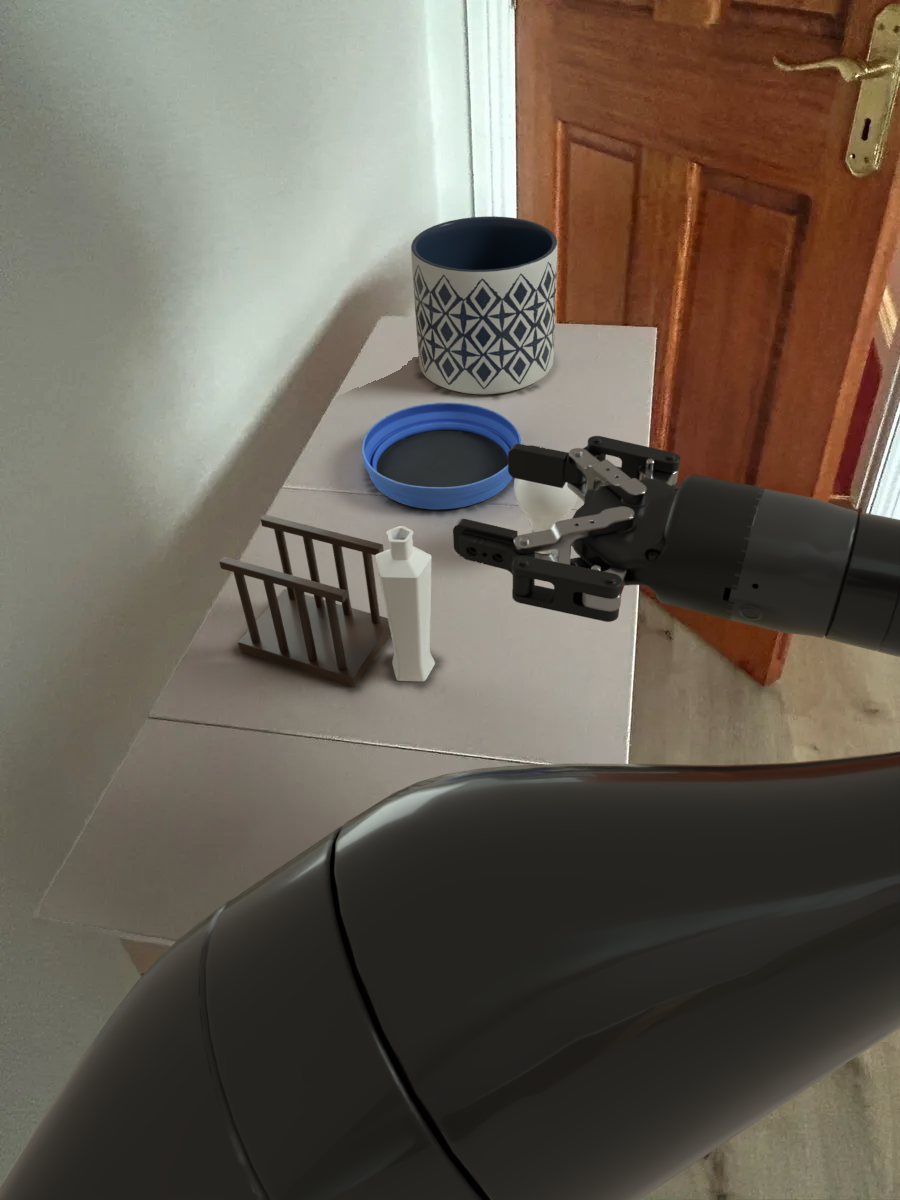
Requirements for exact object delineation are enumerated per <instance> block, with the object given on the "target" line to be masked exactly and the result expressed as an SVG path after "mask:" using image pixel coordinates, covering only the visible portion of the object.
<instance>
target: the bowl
mask: <svg viewBox="0 0 900 1200" xmlns="http://www.w3.org/2000/svg"><path fill="white" fill-rule="evenodd" d="M515 444H522V436H521V433H520V432H519V430H518V429H517V427H516V426H515V424H513V423H512V421H510V419H508V418H507V417H506V416H503V415H502V414H500V413H499V412H497V411H494V410H491V409H490V408H486V407H483V406H479V405H476V404H469V403H462V402H432V403H431V402H430V403H424V404H418V405H413V406H409V407H406V408H402V409H399V410H396V411H394V412H392V413H390V414H388V415H386V416H384V417H383V418H381V419H379V420H378V421H377V422H375V423H374V424H373V425H372V426H371V427H370V428H369V430H368V431H367V432H366V434H365V435H364V438H363V441H362V445H361V456H362V461H363V464H364V467H365V470H366V471H367V473H368V476H369V478H370V480H371V482H372V484H373V485H374V487H375V488H376V489H377V490H378V491H379V492H380V493H381V494H382V495H384V496H386V497H387V498H388V499H391V500H392V501H395V502H397V503H399V504H401V505H405V506H408V507H412V508H417V509H424V510H453V509H459V508H465V507H469V506H473V505H476V504H479V503H482V502H485V501H487V500H489V499H491V498H493V497H494V496H496V495H497V494H499V493H500V492H502V491H503V490H504V489H505V488H507V486H508V485H509V484H510V482H511V481H512V480H513V479H514V478H513V477H512V476H510V474H509V472H508V453H509V451H510V450H511V448H512V447H513V445H515Z"/></svg>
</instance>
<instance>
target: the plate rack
mask: <svg viewBox="0 0 900 1200" xmlns="http://www.w3.org/2000/svg"><path fill="white" fill-rule="evenodd" d="M260 524H261V526H262V527H264V528H267V529H272V530H273V531H274V535H275V540H276V545H277V549H278V553H279V560H280V563H281V569H282V571H278V570H274V569H270V568H267V567H263V566H260V565H256V564H254V563H253V564H252V563H250V562H249V563H248V562H245V561H241V560H239V559H235V558H230V557H227V556H223V557H222V558H221V559H220V560H219V566H220V569H221V570H225V571H228V572H232V573H233V575H234V579H235V583H236V588H237V591H238V595H239V599H240V603H241V606H242V611H243V614H244V617H245V622H246V626H247V631H246V632H245V634H244V635H243V636H242V637H241V638H240V639H239V640H238V642H237V644H238V649H239V651H240V652H241V653H245V654H248V655H251V656H254V657H257V658H260V659H262V660H263V659H264V660H266V661H269V662H273V663H275V664H280V665H282V666H286V667H289V668H291V669H292V668H293V669H295V670H298V671H301V672H305V673H307V674H311V675H314V676H318V677H321V678H323V679H327V680H330V681H333V682H336V683H338V684H343V685H346V686H349V687H353V688H355V687H356V685H357V684H358V683H359V681H360V680H361V678H362V677H363V676H364V674H365V673H366V671H367V670H368V668H369V667H370V666H371V664H372V662H373V661H374V659H375V658H376V657H377V656H378V654H379V653H380V651H381V650H382V648H383V647H384V645H385V644H386V643H387V641H388V639H389V638H390V637H391V632H390V627H389V622H388V617H385V616H382V615H380V614H381V613H380V608H379V607H380V606H379V600H378V599H379V598H378V592H377V591H378V590H377V585H376V577H375V576H376V575H375V569H374V568H375V567H374V561H373V556H375V555H376V554H378V553H381V552H383V551H385V550H384V549H385V548H384V543H383V544H382V543H379V542H375V541H372V540H368V539H363V538H359V537H355V536H352V535H348V534H343V533H340V532H335V531H331V530H327V529H324V528H319V527H317V526H316V527H315V526H312V525H308V524H304V523H300V522H296V521H292V520H289V519H285V518H280V517H276V516H272V515H268V514H264V515H263V516H262V517H261V518H260ZM285 533H287V534H291V535H295V536H297V537H302V541H303V546H304V551H305V556H306V561H307V567H308V572H309V577H310V579H307V578H303V577H300V576H297V575H294V574H293V569H292V565H291V560H290V559H291V558H290V555H289V551H288V546H287V541H286V540H287V539H286V536H285ZM313 540H314V541H319V542H321V543H326V544H330V545H331V547H332V553H333V558H334V559H333V560H334V563H335V564H334V565H335V571H336V578H337V583H338V587H335V586H333V585H328V584H325V583H323V582H321V578H320V573H319V568H318V563H317V558H316V557H317V556H316V551H315V546H314V541H313ZM343 548H346V549H349V550H353V551H357V552H361V555H362V562H363V568H364V576H365V583H366V590H367V591H366V592H367V597H368V606H369V612H367V611H364V610H360V609H357V608H353V607H352V605H351V597H350V590H349V584H348V579H347V572H346V565H345V559H344V552H343ZM245 576H246V577H250V578H252V579H253V578H254V579H257V580H260V581H263V582H262V583H263V586H264V590H265V595H266V598H267V603H268V607H267V608H266V609H265V611H264V612H262V614H261V615H260V616H259V617H258V619H256V616H255V612H254V608H253V606H252V605H253V604H252V600H251V597H250V593H249V588H248V584H247V581H246V577H245ZM275 585H279V586H282V587H284V589H282V591H281V592H280V593H279V594H278V595H277V592H276V587H275ZM305 593H306V594H305ZM307 594H310V595H307ZM311 595H313V596H311ZM337 602H339V603H341V604H339V603H337Z"/></svg>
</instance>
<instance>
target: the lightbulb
mask: <svg viewBox="0 0 900 1200" xmlns="http://www.w3.org/2000/svg"><path fill="white" fill-rule="evenodd" d="M513 494H514V498H515V501H516V503H517V505H518V506H519V508H520V509H521V511H523V513H524V514H525V515H526V517H527V519H528V523H529V526H530V528H531V533H534V532H539V531H545V530H549V529H550V528H551V527H552V526H553V524H554V523H556V522H558V521H561V520H565V517H566V516H567V515H568V514H569V513H570V512H571V511H572V510H573V508H574V507H575V505H576V503H577V502H578V500H579V498H580V497H579V496H577V495H576V494H575V493H574V492H573V491H572V490H570V489H569V488H568V486H567V482H566V483H565V485H564V487H563V488H558V487H554V486H549V485H544V484H540V483H535V482H530V481H526V480H521V479H516V478H514V481H513ZM551 552H552V550H547V551H541V552H537V553H538V554H541V555H550V554H551Z"/></svg>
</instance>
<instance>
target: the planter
mask: <svg viewBox="0 0 900 1200" xmlns="http://www.w3.org/2000/svg"><path fill="white" fill-rule="evenodd" d="M558 243H559V242H558V238H557V236H556V235H555V233H554V232H553V231H552V230H550V229H549V228H548V227H546V226H544V225H542V224H539V223H537V222H534V221H531V220H528V219H527V220H526V219H522V218H517V217H508V216H493V215H492V216H491V215H490V216H471V217H463V218H458V219H453V220H448V221H444V222H440V223H438V224H435V225H433V226H430V227H428V228H426V229H424V230H423V231H421V232H420V233H418V234H417V235H416V236H415V237H414V239H413V240H412V242H411V244H410V253H411V255H410V256H411V271H412V272H411V273H412V285H413V286H412V287H413V298H414V300H413V301H414V312H415V313H414V314H415V326H416V340H417V341H416V342H417V354H418V366H419V369H420V372H421V373H422V374H423V376H425V378H427V379H428V380H429V381H430V382H432V383H434V384H435V385H437V386H439V387H441V388H443V389H446V390H449V391H452V392H453V391H454V392H456V393H462V394H468V395H499V394H504V393H510V392H514V391H519V390H521V389H524V388H526V387H529V386H531V385H533V384H535V383H537V382H538V381H540V380H542V379H543V378H544V377H545V376H546V375H548V373H549V372H550V371H551V369H552V367H553V365H554V359H555V358H554V357H555V338H556V337H555V333H556V308H557V307H556V306H557V305H556V302H557V280H558V279H557V278H558V275H557V274H558Z"/></svg>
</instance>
